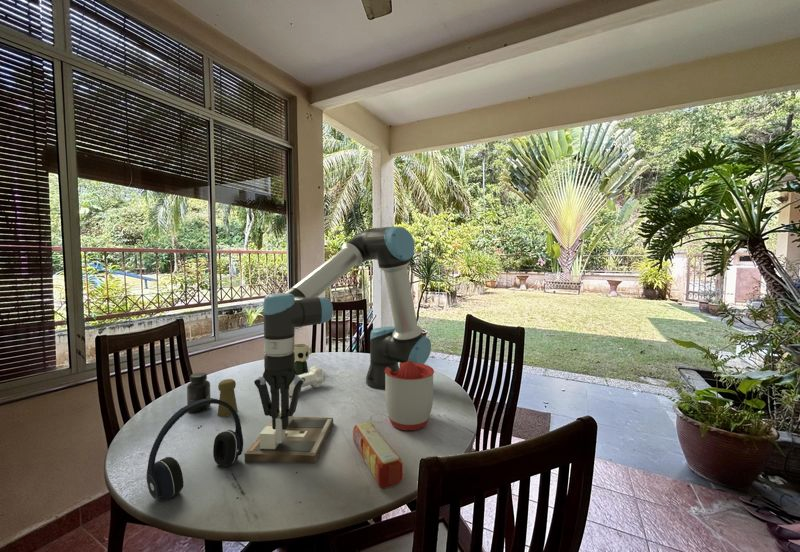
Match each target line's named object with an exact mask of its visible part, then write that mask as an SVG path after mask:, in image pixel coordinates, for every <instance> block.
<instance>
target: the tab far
mask: <svg viewBox="0 0 800 552" xmlns="http://www.w3.org/2000/svg"><path fill="white" fill-rule="evenodd" d="M279 408H280V413H279V414H281V405H279ZM293 417H294V414H293V415H292V416H288V418H289V421H288V422H289V424H290V423H291V421H292V420H293ZM288 426H289V425H288Z"/></svg>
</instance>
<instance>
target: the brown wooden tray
mask: <svg viewBox="0 0 800 552" xmlns="http://www.w3.org/2000/svg"><path fill="white" fill-rule="evenodd" d="M333 425H334V417H318V416H317V417H315V416H314V417H313V416H293V420H292V421H291V423H290V424H289V426H288V427H287V429H286V430H285V439H284V440H283V442H282V443H279V444H278V446H277V447H276V449H260V435H258V437H257V439H255V441H254V442H253V443H252V445H251V446H249V448H247V450H246V451H245V453H244V462H252V463H253V462H257V463H259V462H260V463H287V464H288V463H291V464H292V463H293V464H294V463H295V464H297V463H298V464H315V463H316V462H317V460H318V457H319V455H320V453H321V451H322V450H323V447H324V444H325V443H326V441H327V437H328V436H329V434H330V432H331V430H332V427H333ZM268 426H272V421H271V422H270V423H269V424H268ZM325 440H326V441H325Z"/></svg>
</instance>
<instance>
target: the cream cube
mask: <svg viewBox="0 0 800 552" xmlns="http://www.w3.org/2000/svg"><path fill="white" fill-rule="evenodd" d="M259 436H260V449H276V447H277V446H278V444H279V443H276V429H273V428H272V426H269V425H266V426H264V428H263V429H262V431H260V433H259Z"/></svg>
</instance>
